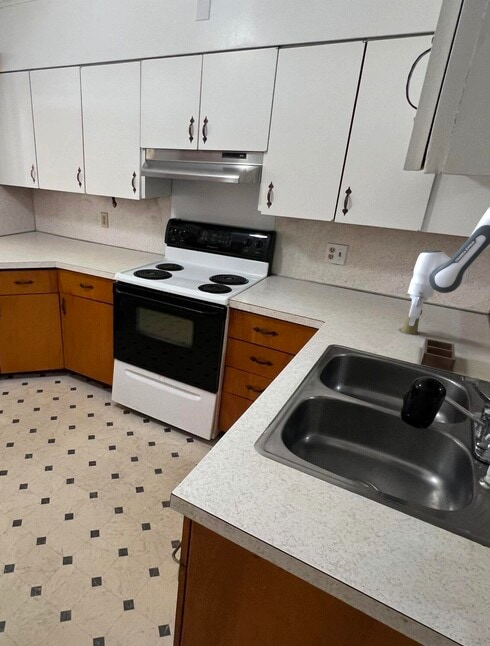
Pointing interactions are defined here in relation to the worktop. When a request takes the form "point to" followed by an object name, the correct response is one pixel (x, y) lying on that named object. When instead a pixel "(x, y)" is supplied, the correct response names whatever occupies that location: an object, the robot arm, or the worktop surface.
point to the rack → (438, 355)
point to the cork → (407, 327)
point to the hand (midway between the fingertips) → (411, 323)
